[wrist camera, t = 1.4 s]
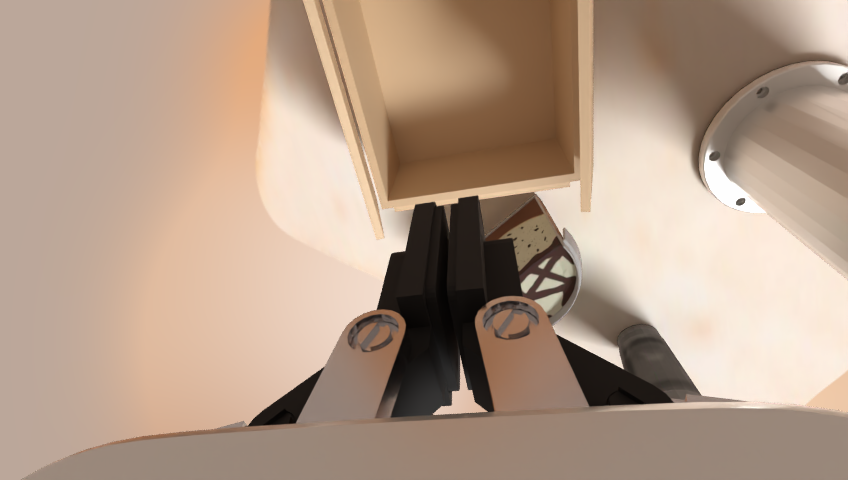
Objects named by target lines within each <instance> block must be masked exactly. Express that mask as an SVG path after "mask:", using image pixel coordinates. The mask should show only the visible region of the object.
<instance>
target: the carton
mask: <svg viewBox="0 0 848 480" xmlns="http://www.w3.org/2000/svg"><path fill="white" fill-rule="evenodd" d="M322 2H323V5H324V9H325V12H326V16H327V19H328V23H329V26H330V30H331V33H332V37H333V40H334V44H335V47H336V50H337V54H338V57H339V61H340V64H341V68H342V71H343V75H344V78H345V82H346V85H347V89H348V92H349V96H350V99H351V103H352V106H353V110H354V113H355V116H356V120H357V123H358V127H359V130H360V134H361V137H362V141H363V144H364V148H365V151H366V155H367V158H368V162H369V165H370V169H371V172H372V176H373V179H374V183H375V186H376V189H377V193H378V196H379V200H380V203H381V207H382V209H386V208H393V207H394V209H395V212H398V211H405V210H411V209H414V207H415V204H422V203H429V202H436V205H437V206H439V205H446V204H453V203H458V198H463V197H470V196H476V195H478V197H479V200H481V199H488V198H495V197H502V196H509V195H516V194H523V193H529V192H536V191H543V190H550V189H557V188H564V187H570V182H571V181H578V180H580V121H579V58H578V0H322Z"/></svg>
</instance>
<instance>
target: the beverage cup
mask: <svg viewBox="0 0 848 480" xmlns="http://www.w3.org/2000/svg"><path fill="white" fill-rule="evenodd" d="M617 343H618V346H619V350H620V351H619V352H620V357H621V360H622V364H623V367H624V370H626V371H628V372H629V373H631V374H633V375H635V376H637V377H639V378H641V379H643V380H645V381H647V382H649V383H651V384H652V385H654V386H656V387H657V388H659V389H660V390H662V391H663V392H665V393H666V394H667V395H668V396H669V397H670V398H673V399H681V400H685V397H686V394H691V395H699V396H702V395H701V394H700V392H699V391H698V389H697V388H696V387H695V385H694V384H693V382H692V381H691V379H690V378H689V376H688V375H687V373H686V372H685V370H684V369H683V367H682V366H681V364H680V363H679V361H678V360H677V358H676V357H675V355H674V354H673V352H672V351H671V349H670V348H669V346H668V345H667V343H666V342H665V341H664V339H663V338H662V337H661V336H660V334H659V333H658V331H657V330H656V329H655V328H653V327H652V326H649V325H634V326H631V327H629V328H626V329H625V330H624V331H622V332H621V333H620V335H619V336H618V339H617Z"/></svg>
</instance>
